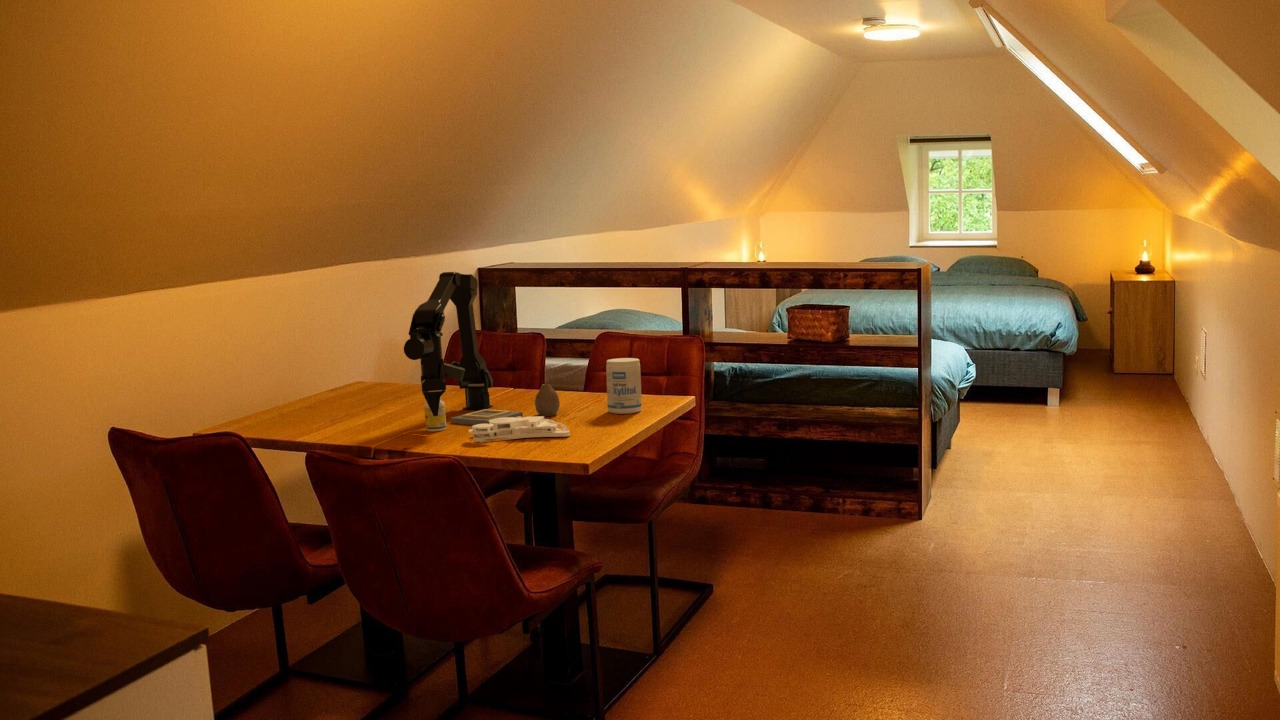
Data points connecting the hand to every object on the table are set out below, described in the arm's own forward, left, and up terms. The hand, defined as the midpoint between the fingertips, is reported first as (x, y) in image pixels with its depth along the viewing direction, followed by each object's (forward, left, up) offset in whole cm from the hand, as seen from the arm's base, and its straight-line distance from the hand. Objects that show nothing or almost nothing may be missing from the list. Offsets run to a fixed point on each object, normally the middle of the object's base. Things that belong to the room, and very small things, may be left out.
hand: (435, 413), depth 296 cm
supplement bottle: (0, 0, -5) cm, 5 cm away
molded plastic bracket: (+25, +7, -5) cm, 26 cm away
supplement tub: (+34, +40, -5) cm, 53 cm away
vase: (+16, +28, -5) cm, 33 cm away
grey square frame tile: (+4, +16, -4) cm, 17 cm away
